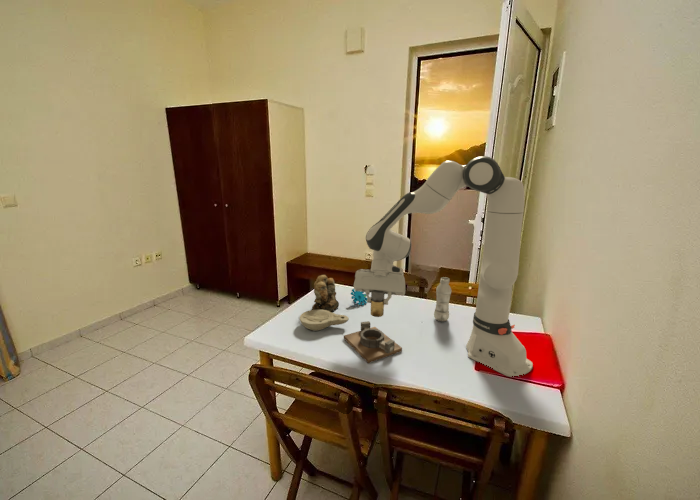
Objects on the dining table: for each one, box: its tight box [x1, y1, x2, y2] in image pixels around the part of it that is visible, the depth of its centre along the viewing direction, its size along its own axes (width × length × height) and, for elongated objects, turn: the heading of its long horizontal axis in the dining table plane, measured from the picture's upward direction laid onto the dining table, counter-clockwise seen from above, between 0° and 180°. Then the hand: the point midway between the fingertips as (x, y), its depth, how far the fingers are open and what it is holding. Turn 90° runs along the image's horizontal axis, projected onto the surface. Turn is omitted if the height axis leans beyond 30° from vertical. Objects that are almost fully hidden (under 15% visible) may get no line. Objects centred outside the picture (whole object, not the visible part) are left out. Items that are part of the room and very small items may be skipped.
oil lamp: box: [299, 309, 350, 331], centre depth 131 cm, size 21×14×5 cm
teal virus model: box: [350, 288, 367, 306], centre depth 156 cm, size 11×6×10 cm
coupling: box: [370, 290, 386, 318], centre depth 117 cm, size 5×5×9 cm
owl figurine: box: [311, 274, 340, 313], centre depth 147 cm, size 18×12×17 cm, turn 160°
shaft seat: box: [343, 321, 403, 364], centre depth 118 cm, size 19×15×5 cm
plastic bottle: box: [433, 276, 452, 323], centre depth 136 cm, size 6×7×20 cm
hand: (377, 303), depth 117 cm, fingers closed on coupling, 5 cm apart
